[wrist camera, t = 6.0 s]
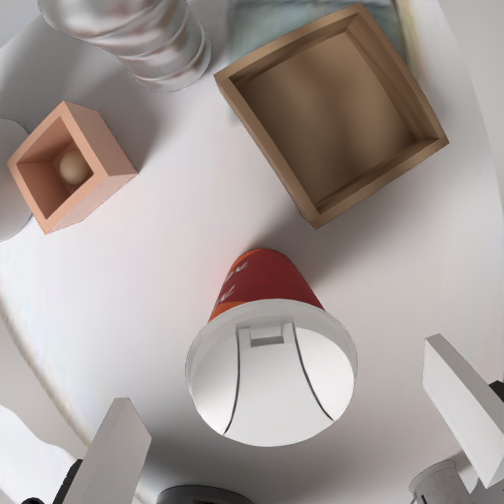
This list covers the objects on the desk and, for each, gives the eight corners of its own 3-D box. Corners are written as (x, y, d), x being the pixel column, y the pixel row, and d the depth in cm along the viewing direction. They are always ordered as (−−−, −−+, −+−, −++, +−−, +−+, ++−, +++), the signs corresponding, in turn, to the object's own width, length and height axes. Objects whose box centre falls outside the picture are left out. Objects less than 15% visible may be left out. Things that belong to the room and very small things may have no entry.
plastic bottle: (228, 75, 23) (180, -103, 4) (153, 111, 24) (-25, 28, 5) (198, 17, 22) (129, -156, 3) (127, 52, 23) (-23, -62, 3)
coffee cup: (206, 241, 27) (158, 325, 12) (306, 228, 27) (368, 298, 12) (223, 331, 29) (203, 460, 14) (314, 319, 29) (360, 441, 14)
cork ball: (81, 190, 25) (64, 194, 22) (65, 164, 24) (47, 164, 21) (105, 169, 25) (89, 170, 22) (88, 142, 24) (71, 140, 21)
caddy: (304, 218, 26) (316, 229, 21) (220, 91, 24) (213, 75, 19) (419, 145, 25) (449, 143, 20) (343, 26, 22) (360, 2, 17)
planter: (81, 221, 26) (45, 235, 20) (45, 161, 25) (6, 162, 19) (138, 173, 25) (108, 176, 20) (98, 111, 24) (63, 100, 18)
